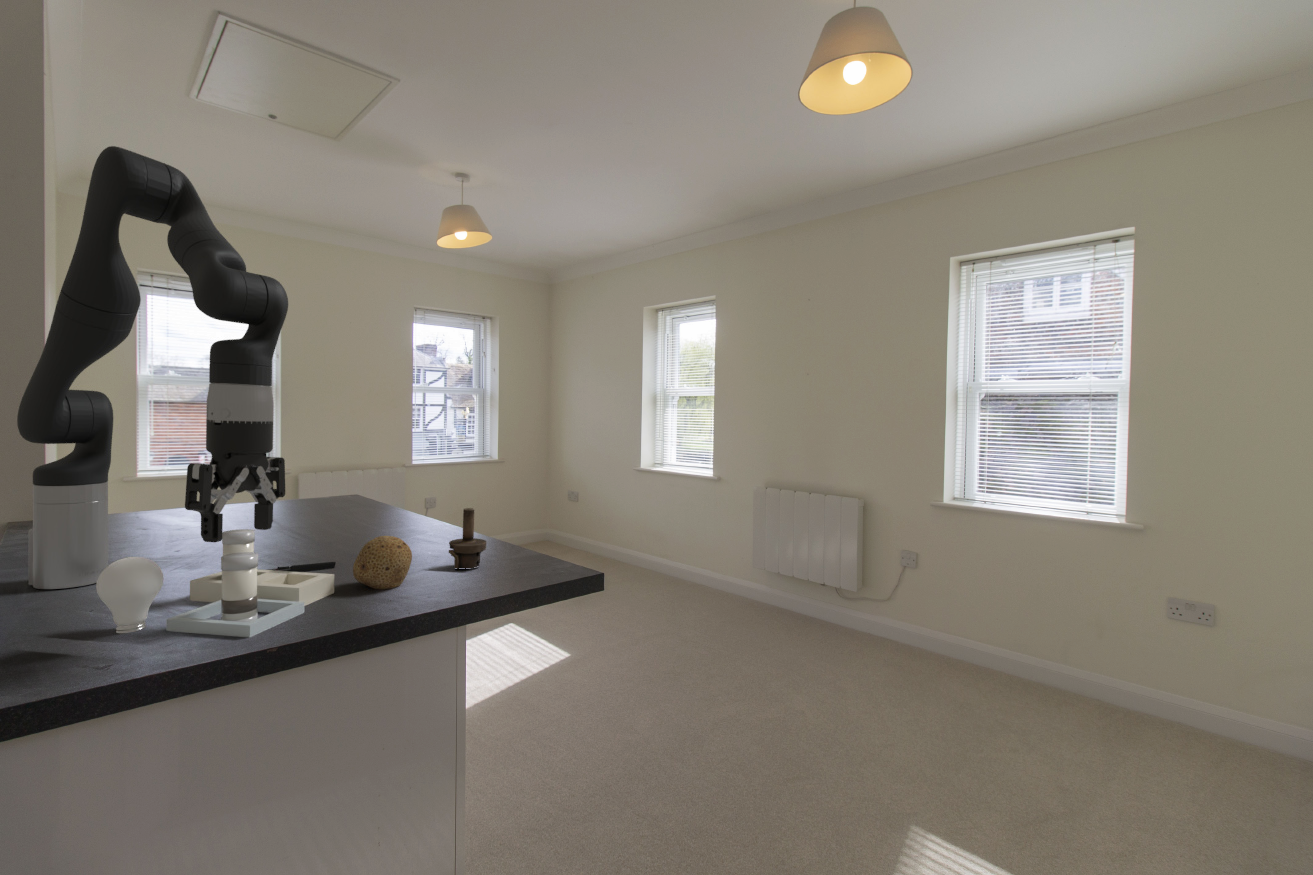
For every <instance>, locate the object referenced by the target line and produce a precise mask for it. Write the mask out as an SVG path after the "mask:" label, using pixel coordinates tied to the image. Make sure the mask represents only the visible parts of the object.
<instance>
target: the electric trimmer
mask: <svg viewBox="0 0 1313 875" xmlns="http://www.w3.org/2000/svg"><path fill="white" fill-rule="evenodd" d="M336 564H337V563H336V561H327V562H316V563H304V564H295V565H294V564H293V565H291V566H289V565H288V566H277V568H270V569H269V568H268V569H267V570H275V571H291V572H306V573H310V572H314V571H324V570H331V569H335V567H336Z"/></svg>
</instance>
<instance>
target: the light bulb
mask: <svg viewBox="0 0 1313 875" xmlns="http://www.w3.org/2000/svg"><path fill="white" fill-rule="evenodd" d="M95 584H96V586H95V587H96V593H97V595H98V597H99V599H100V600H101V602H103V604H105V606H106V607H107V608H108V609H109V611H110V613H111V614H112V620H113V623H114V624H115V625H116V627H115V630H116V631H115V632H116V634H129V633H135V632H138V631H141V630H143V629H145V628H146V623H147V622H146V619H147V618H148V616H149V609H150V607H151V605H152V603H153V601H154V600H155V599H156V597H157V595H158V594H159V593H160V591H161V589H162V587H163V585H164V573H163V571H162V569H161V567H160V566H159V564H157V563H156V561H153V560H151V559H149V558H146V557H141V556H129V557H124V558H121V559H118V560H116V561H113V562H112V563H110V564H108V566H107V567H106V568H105V569H104V570H103V571H102V572H101V574H100V575H99V577H98V580H97V583H95Z"/></svg>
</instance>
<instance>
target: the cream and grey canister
mask: <svg viewBox="0 0 1313 875" xmlns="http://www.w3.org/2000/svg"><path fill="white" fill-rule="evenodd" d="M258 566H259V553H257V552H242V553H233V554H228V555H224V556H223V555H222V556H221V557H220V570H221V571H222V598H221V612H222V613H221V617H220V620H224V621H237V622H251V621H254V620H256V619H258V618H259V613H258V612H257V569H258Z"/></svg>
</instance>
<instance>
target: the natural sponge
mask: <svg viewBox="0 0 1313 875" xmlns="http://www.w3.org/2000/svg"><path fill="white" fill-rule="evenodd" d="M362 546H363V547H361V549H360V551H359V552H358V555H357V556H356V558H355V560H354V562H353V566H352V573H353V577H354V579H355V580H356V581H357V582H358V583H359V584H360V583H361V584H362V585H365V586H368V587H370V588H372V589H374V590H389V589H395V588H398V587H400V586H401V585H402V584H403V582H404V581H405V579H406V578H407V575H408V573H409V571H410V568H411V564H412V559H413V553H412V549H411V548H410V546H409V545H408V544H407V542H405V541H404V540H403V539H401V538H399V537H396V536H391V535H381V536H377V537H374V538H372V539H371V540H369V541H368V542H366V543H365V544H364V545H362Z"/></svg>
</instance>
